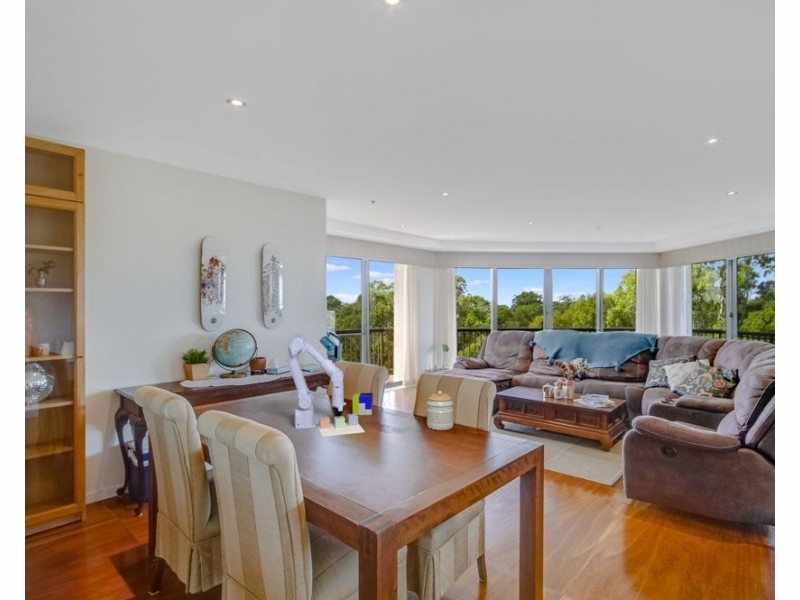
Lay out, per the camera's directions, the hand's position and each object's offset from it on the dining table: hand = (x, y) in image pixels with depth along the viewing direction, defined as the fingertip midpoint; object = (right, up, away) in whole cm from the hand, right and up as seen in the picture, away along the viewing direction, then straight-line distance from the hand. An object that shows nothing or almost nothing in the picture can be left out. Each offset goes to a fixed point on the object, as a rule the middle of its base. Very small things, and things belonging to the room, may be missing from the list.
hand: (338, 421), depth 212 cm
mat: (+2, -2, -7) cm, 7 cm away
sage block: (+1, -1, -4) cm, 4 cm away
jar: (+51, -2, -3) cm, 51 cm away
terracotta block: (-6, -1, -4) cm, 7 cm away
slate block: (+7, -1, 0) cm, 7 cm away
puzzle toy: (+10, -2, +22) cm, 25 cm away
